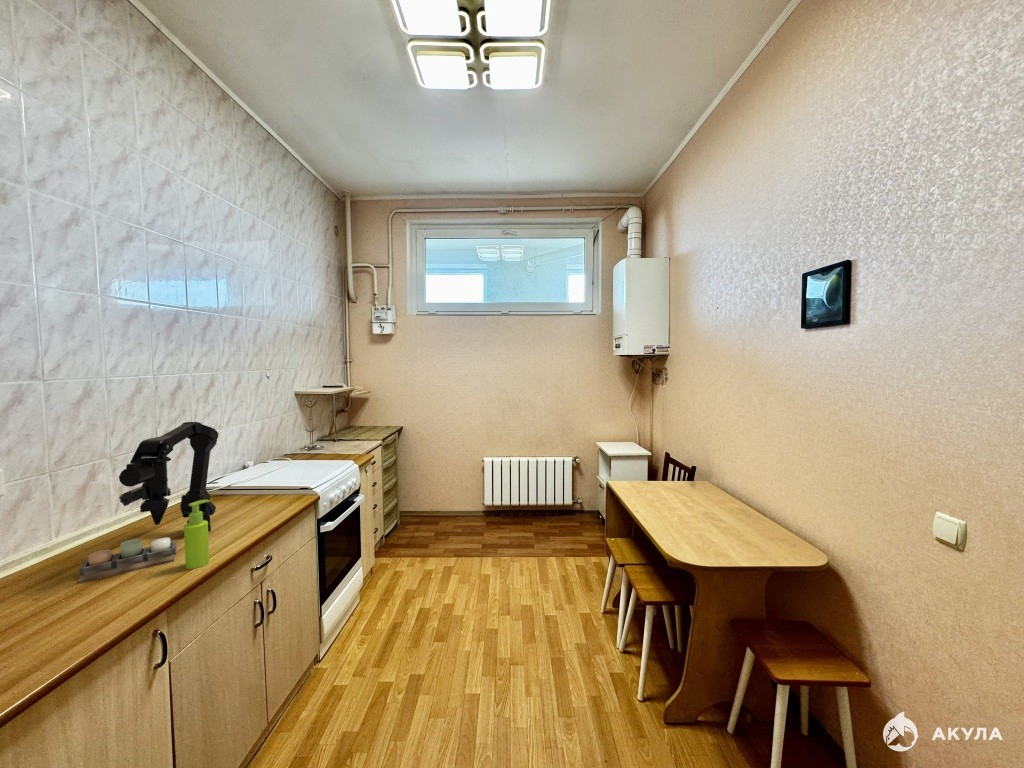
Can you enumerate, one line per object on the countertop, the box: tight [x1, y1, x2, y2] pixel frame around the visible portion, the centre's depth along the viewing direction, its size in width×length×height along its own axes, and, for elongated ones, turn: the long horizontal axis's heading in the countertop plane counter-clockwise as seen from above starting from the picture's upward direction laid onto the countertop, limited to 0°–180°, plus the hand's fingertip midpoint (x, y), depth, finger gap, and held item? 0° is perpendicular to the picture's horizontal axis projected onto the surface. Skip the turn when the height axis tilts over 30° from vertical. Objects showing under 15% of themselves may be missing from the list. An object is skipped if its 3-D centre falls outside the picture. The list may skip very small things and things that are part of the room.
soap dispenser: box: [183, 499, 212, 570], centre depth 124 cm, size 6×7×20 cm
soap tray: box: [77, 540, 178, 584], centre depth 125 cm, size 22×14×3 cm, turn 128°
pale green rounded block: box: [120, 538, 143, 558], centre depth 125 cm, size 5×5×4 cm
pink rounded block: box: [87, 549, 112, 566], centre depth 120 cm, size 5×5×4 cm
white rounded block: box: [150, 537, 171, 553], centre depth 129 cm, size 5×5×4 cm
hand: (157, 524), depth 128 cm, fingers closed
